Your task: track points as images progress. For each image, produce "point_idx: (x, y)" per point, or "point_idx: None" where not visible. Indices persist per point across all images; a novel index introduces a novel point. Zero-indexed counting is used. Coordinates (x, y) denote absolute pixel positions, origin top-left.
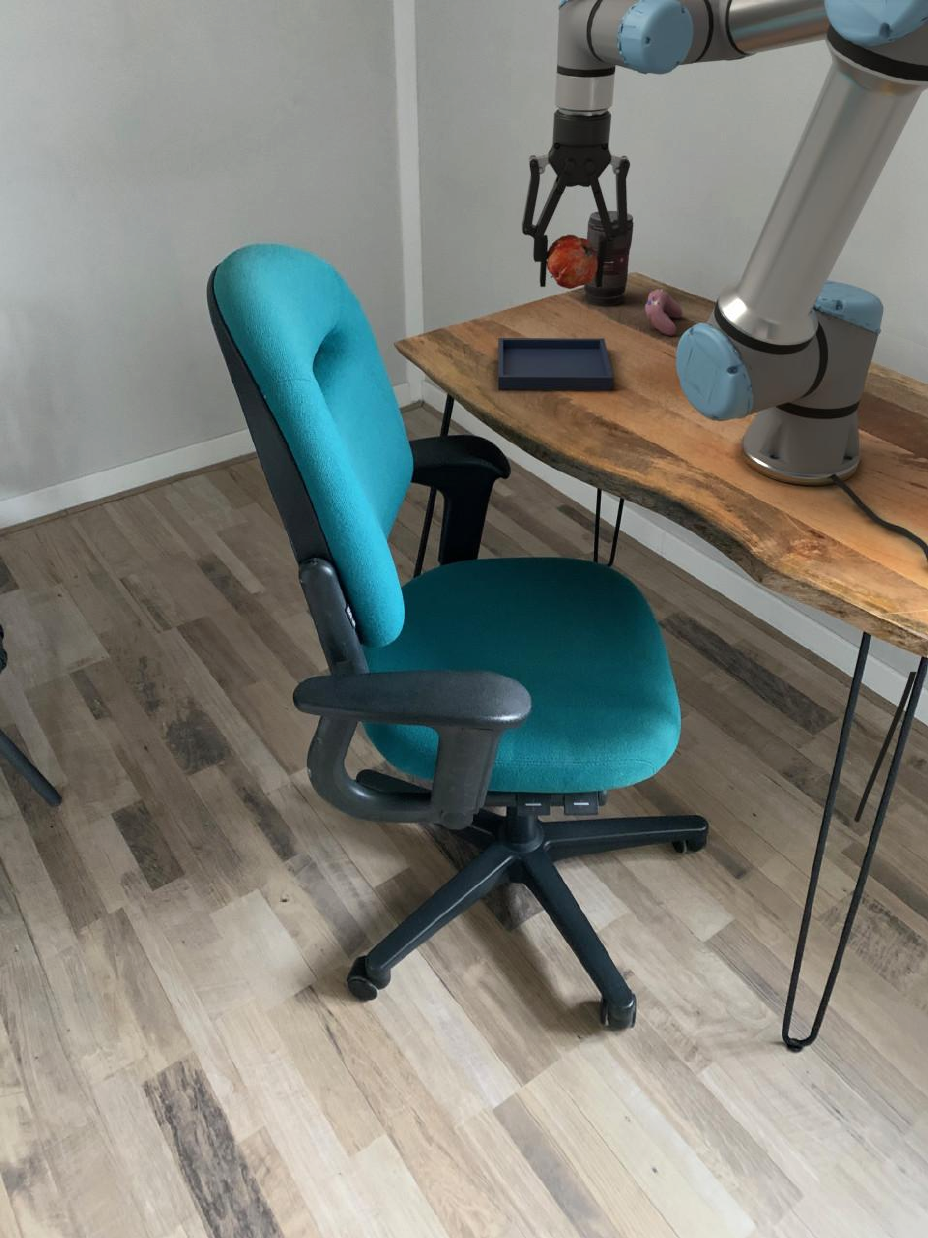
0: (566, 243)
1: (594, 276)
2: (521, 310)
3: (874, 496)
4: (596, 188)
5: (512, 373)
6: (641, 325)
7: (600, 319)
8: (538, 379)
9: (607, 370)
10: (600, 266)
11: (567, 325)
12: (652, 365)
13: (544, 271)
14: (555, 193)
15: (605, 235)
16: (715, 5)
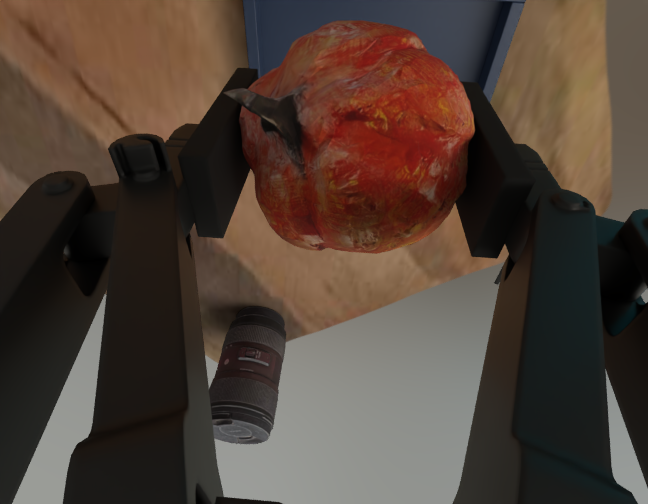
0: (398, 161)
1: (270, 343)
2: (378, 303)
3: None
4: (124, 466)
5: (464, 60)
6: (204, 251)
7: (266, 272)
8: None
9: (254, 19)
10: (230, 101)
11: (317, 258)
12: (169, 102)
13: (477, 106)
14: (579, 448)
15: (179, 196)
16: None
